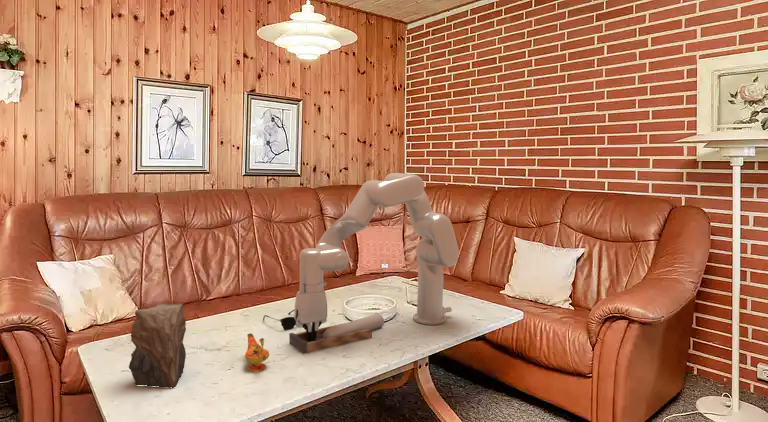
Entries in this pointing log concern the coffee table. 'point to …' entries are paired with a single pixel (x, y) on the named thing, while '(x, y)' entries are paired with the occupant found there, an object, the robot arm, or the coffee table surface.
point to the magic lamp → (256, 354)
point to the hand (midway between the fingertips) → (311, 342)
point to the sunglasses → (286, 322)
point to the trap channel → (326, 340)
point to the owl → (158, 345)
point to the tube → (356, 326)
